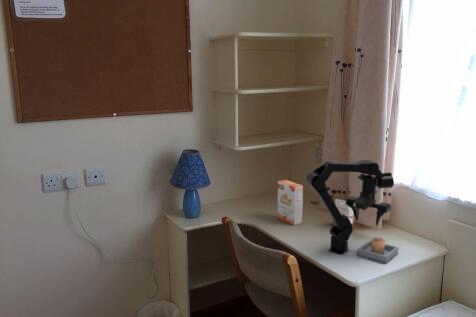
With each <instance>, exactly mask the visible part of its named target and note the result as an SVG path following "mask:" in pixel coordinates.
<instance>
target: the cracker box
mask: <svg viewBox="0 0 476 317" xmlns="http://www.w3.org/2000/svg"><path fill="white" fill-rule="evenodd" d="M303 194H304V185H302V184H299V183H296V182H295V181H294V182H293V181H290V180H287V179H283V180H278V181H277V218H278V219H280V220H281V221H282V222H283V221H284V222H285V223H288V224H290V225H292V226H297V225H301V224H303V206H304V205H303V201H304V195H303Z"/></svg>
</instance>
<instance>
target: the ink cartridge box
mask: <svg viewBox="0 0 476 317" xmlns="http://www.w3.org/2000/svg"><path fill="white" fill-rule="evenodd" d="M334 203H335V205H336V207H337V208H338V210H339V212H340V213H341V215H342V214H344V215H345V216H346V217H348V218H349V220H350V222H351V224H352V225H353V226H352V227H353V228H354V212H353V210H352V209H351V208H350V207H348V206H349V205H346V200H343V199H339V198H335V200H334Z"/></svg>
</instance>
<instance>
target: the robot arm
mask: <svg viewBox="0 0 476 317" xmlns="http://www.w3.org/2000/svg"><path fill="white" fill-rule="evenodd" d="M334 172H336V173H339V172H340V173H360V175H359V176H357V179H358V180H361V183H362V184H361V191H360V193H359V196H358V197H357V196H350V197H348V198H346V199H345V201H346V205H349V206H348V207H350V208H351V209H352V210H353V216H354V218H355V222H357V221H359V217H360V216H359V215H360V210H363V211H366V210H367V209H368V208H374V209H376V210H377V211H376V212H375V214H376V219H375V226H379V223H380V222H381V219H382V217H383V216H384V214H387V213H389V212H390V211H391V210H392V205H391V204H390V203H388V202H380V203H377V199H376V194H377V191H378V190H376V187H377V188H378V189H390V188H393V187H394V185H395V180H394V178H393V176H392V175H393V174H392V172H390V171H389V172H388V171H386V172H382V171H381V170H380V166H379V164H378V163H377V162H375V161H373V160H371V159H361V160H359V161H329V160H328V161H327V160H326V161H325V162H324V163H323V164H322V165H320V166H318V167H317V168H315V169H313V171H312V172H309V173H308V174H307V175H306V178H305V180H306V183H307V184H308V185H309V187H310V188H311V189H312V190H313V191H314V192H315V193H316V194H317V196H318V197H319V199H320V201H322V203H323V205H324V207H325V209H326V210H327V212H328V213H329V214H330V216H331V218H332V223H333V226H332V227H331V228H330V229H329V234H330V248H329V249H328V252H332V253H334V254H335V253H336V254H338V255H344V254H345V253H346V252H348V251H349V249H348V247H349V246H348V245H349V242H348V241H349V239H350V236H351V234H352V233H353V231H354V224H353V225H352V224H351V222H350V220H349V218H348V217H346V216H345V215H344V214H342V215H341V213H340V212H339V210H338V208H337V207H336V205H335V201H334V200H333V198H332V197H331V195H330V194H329V192H328V189H327V185H326V184H327V183H326V182H327V181H328V179H329V178H330V176H331V175H332V174H333V173H334ZM352 226H353V227H352Z"/></svg>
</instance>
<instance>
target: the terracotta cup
mask: <svg viewBox="0 0 476 317" xmlns="http://www.w3.org/2000/svg"><path fill="white" fill-rule="evenodd" d="M371 240H372V243H371V252H374V253H377V254H381V255H384V250H385V244H386V240H385V239H384V238H382V237H377V236H376V237H372V238H371Z"/></svg>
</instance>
